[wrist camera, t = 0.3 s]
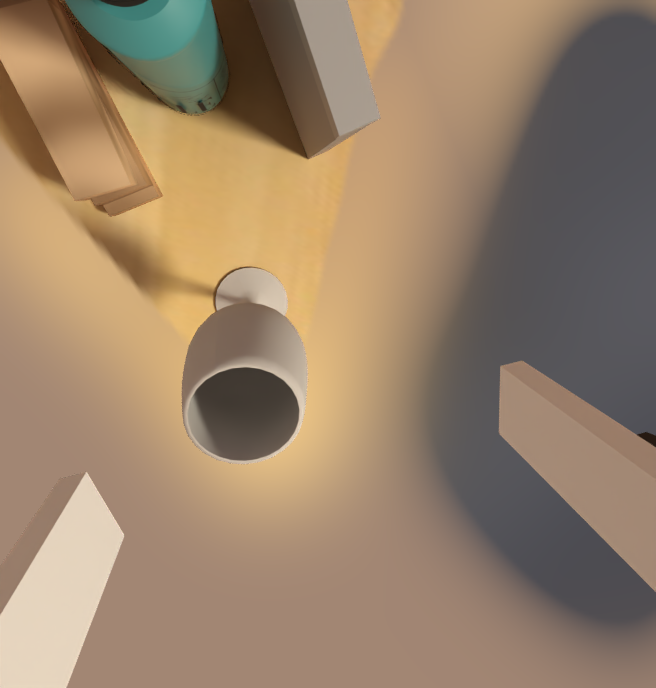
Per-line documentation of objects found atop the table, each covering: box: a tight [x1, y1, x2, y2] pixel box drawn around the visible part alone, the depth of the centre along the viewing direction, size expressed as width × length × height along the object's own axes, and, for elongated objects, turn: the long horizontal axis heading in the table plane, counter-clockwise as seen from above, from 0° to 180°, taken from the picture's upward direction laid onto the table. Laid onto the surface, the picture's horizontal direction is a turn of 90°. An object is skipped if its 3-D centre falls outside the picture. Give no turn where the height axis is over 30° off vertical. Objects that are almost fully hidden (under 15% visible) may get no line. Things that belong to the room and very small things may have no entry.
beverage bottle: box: [65, 0, 230, 116], centre depth 21 cm, size 6×7×20 cm
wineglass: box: [182, 267, 308, 464], centre depth 28 cm, size 8×8×21 cm
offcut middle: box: [0, 0, 153, 206], centre depth 27 cm, size 13×4×2 cm, turn 20°
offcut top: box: [0, 0, 138, 201], centre depth 26 cm, size 11×4×2 cm, turn 15°
